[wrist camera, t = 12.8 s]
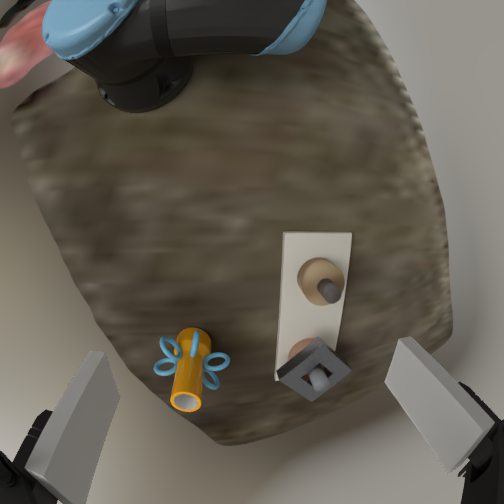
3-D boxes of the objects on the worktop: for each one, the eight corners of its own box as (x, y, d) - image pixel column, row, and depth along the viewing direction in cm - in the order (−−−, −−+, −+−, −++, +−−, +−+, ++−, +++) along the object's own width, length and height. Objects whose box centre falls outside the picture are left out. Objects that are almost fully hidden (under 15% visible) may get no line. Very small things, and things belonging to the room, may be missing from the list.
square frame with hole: (318, 336, 42) (322, 344, 39) (347, 362, 44) (352, 370, 41) (276, 370, 43) (278, 380, 40) (308, 392, 45) (311, 401, 43)
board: (283, 231, 42) (284, 232, 41) (349, 231, 43) (352, 233, 42) (274, 376, 49) (275, 380, 48) (328, 370, 50) (330, 374, 49)
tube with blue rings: (148, 334, 44) (126, 392, 30) (188, 299, 43) (175, 354, 29) (198, 375, 48) (194, 436, 33) (239, 345, 47) (247, 407, 32)
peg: (290, 339, 46) (303, 371, 37) (328, 336, 47) (346, 366, 38) (286, 370, 48) (297, 403, 39) (322, 366, 48) (338, 397, 40)
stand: (298, 257, 42) (313, 274, 35) (336, 256, 43) (357, 272, 35) (295, 296, 44) (308, 318, 36) (332, 294, 44) (350, 314, 37)
